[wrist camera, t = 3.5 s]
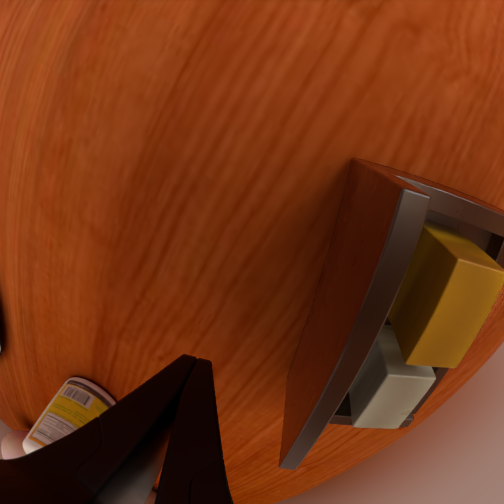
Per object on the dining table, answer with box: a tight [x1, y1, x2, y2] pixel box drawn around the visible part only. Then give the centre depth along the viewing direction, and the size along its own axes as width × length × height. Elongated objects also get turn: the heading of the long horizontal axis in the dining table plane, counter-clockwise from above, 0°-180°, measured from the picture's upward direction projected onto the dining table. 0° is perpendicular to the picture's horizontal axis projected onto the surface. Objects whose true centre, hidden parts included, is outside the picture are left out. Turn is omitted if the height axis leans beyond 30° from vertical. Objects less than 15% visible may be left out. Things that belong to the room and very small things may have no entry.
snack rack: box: [279, 158, 504, 470], centre depth 11 cm, size 8×12×6 cm, turn 171°
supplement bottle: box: [23, 377, 115, 454], centre depth 16 cm, size 6×6×10 cm
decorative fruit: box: [1, 430, 29, 459], centre depth 26 cm, size 9×8×10 cm
